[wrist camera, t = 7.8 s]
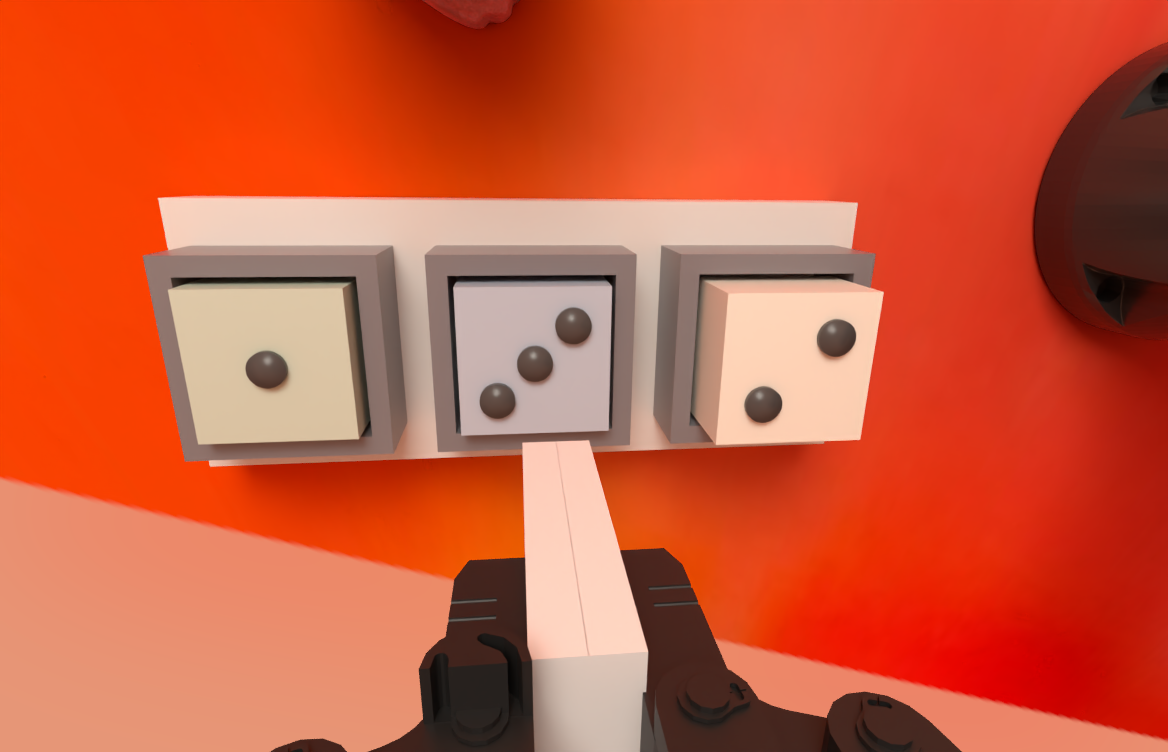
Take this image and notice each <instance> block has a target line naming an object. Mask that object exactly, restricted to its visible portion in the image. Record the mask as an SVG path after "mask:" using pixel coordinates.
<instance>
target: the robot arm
mask: <svg viewBox="0 0 1168 752" xmlns="http://www.w3.org/2000/svg"><path fill="white" fill-rule="evenodd" d="M1035 241H1036V250H1037V256H1038V260H1039V264H1040V268H1041V271H1042V274H1043V276H1044V278H1045V281H1046V283H1047V285H1048V287H1049V288H1050V290H1051V292H1052V293H1053V295H1054V296H1055V298H1056V299H1057V300H1058V301H1059V302H1060V304H1061V305H1062V306H1063V307H1064V308H1065V309H1066V310H1067V311H1069V312H1070V313H1071V314H1072V315H1074V316H1075V317H1077V318H1078V319H1080V320H1082V321H1084V322H1086V323H1087V324H1090V325H1092V326H1095V327H1098V328H1101V329H1105V330H1109V331H1113V332H1117V333H1121V334H1125V335H1129V336H1133V337H1138V338H1143V339H1153V340H1168V42H1167V43H1164V44H1162V45H1159V46H1157V47H1155V48H1153V49H1150V50H1149V51H1147V52H1145V53H1143V54H1141V55H1139V56H1138V57H1136V58H1134V59H1133V60H1131V61H1130V62H1128V63H1127V64H1125V65H1124V66H1123V67H1121V68H1120V69H1119V70H1117V71H1116V72H1115V73H1114V74H1112V75H1111V76H1110V77H1109V78H1108V79H1107V80H1106V81H1104V82H1103V83H1102V84H1101V85H1100V86H1099V87H1098V88H1097V89H1096V90H1095V91H1094V92H1093V93H1092V94H1091V96H1090V97H1089V98H1088V99H1087V100H1086V101H1085V103H1084V104H1083V105H1082V106H1081V108H1080V109H1079V110H1078V111H1077V113H1076V114H1075V115H1074V117H1073V118H1072V120H1071V121H1070V123H1069V124H1068V126H1067V127H1066V129H1065V131H1064V132H1063V134H1062V136H1061V138H1060V139H1059V141H1058V143H1057V145H1056V147H1055V149H1054V151H1053V154H1052V156H1051V158H1050V160H1049V163H1048V166H1047V168H1046V171H1045V174H1044V177H1043V180H1042V184H1041V188H1040V191H1039V196H1038V201H1037V208H1036V217H1035ZM522 446H523V491H524V536H525V558H507V559H488V560H469V561H468V563H467V564H466V565H465V566H464V568H463V569H462V570H461V572H460V573H459V574H458V575H457V577H456V578H455V579H454V586H453V593H452V600H451V606H450V612H449V623H448V625H447V632H446V637H445V638H443V639H441V640H439V641H438V642H437V644H435V645H434V646H433V647H432V648H431V649H430V650H429V651H428V652H427V653H426V655H425V657H424V659H423V661H422V664H421V666H420V668H419V675H420V688H421V699H422V710H423V720H422V721H421V722H420V723H419V724H418V725H417V726H416V727H415V728H414V729H412V730H411V731H410V732H408V733H407V734H405V735H404V736H403V737H401V738H400V739H398V740H395V741H393V742H391V743H389V744H387V745H385V746H382V747H380V748H377V749H374V750H371V751H369V752H961V751H960V750H959V749H958V748H957V747H956V746H955V745H954V744H953V743H952V742H951V741H950V740H949V739H948V738H947V737H946V736H945V735H943V734H942V733H941V732H940V731H939V730H938V729H937V728H936V727H935V726H934V725H933V724H932V723H931V722H930V721H929V720H927V719H926V718H925V717H923V716H922V715H921V714H919V713H918V712H917V711H915V710H914V709H913V708H911V707H910V706H908V705H906V704H904V703H902V702H899V701H897V700H895V699H893V698H890V697H888V696H885V695H880V694H874V693H869V692H859V693H851V694H846V695H844V696H842V697H841V698H839V699H837V700H836V701H834V702H833V704H832V706H831V709H830V711H829V713H828V715H827V718H824V717H819V716H814V715H809V714H804V713H799V712H794V711H789V710H785V709H781V708H778V707H774V706H771V705H769V704H767V703H765V702H763V701H761V700H759V699H758V697H757V696H756V694H755V693H754V692H753V690H752V689H751V688H750V686H749V685H748V683H747V682H746V681H744V680H743V679H742V678H740V677H739V676H738V675H736V674H735V673H733V672H732V671H730V670H728V669H727V667H726V665H725V662H724V660H723V658H722V655H721V653H720V651H719V648H718V646H717V644H716V642H715V639H714V637H713V635H712V632H711V630H710V628H709V625H708V623H707V621H706V618H705V616H704V614H703V611H702V609H701V607H700V605H698V600H697V598H696V595H695V593H694V591H693V588H691V584H690V581H689V579H688V577H687V574H686V572H685V570H684V567H683V565H682V564H681V563H680V562H679V561H678V560H677V559H675V558H674V557H673V556H672V555H671V554H670V553H669V552H668V551H666V550H665V549H664V548H659V549H640V550H621V551H620V549H619V546H618V542H617V539H616V535H615V531H614V528H613V524H612V521H611V517H610V514H609V510H608V507H607V503H606V499H605V496H604V492H603V489H602V485H601V482H600V478H599V474H598V471H597V467H596V464H595V460H594V457H593V453H592V450H591V446H590V442H589V440H586V441H556V442H527V443H522ZM271 752H347V751H345V749H344V748H343V747H342V746H341V745H339V744H337V743H334V742H331V741H328V740H325V739H307V740H299V741H295V742H292V743H290V744H287V745H284V746H281V747H278V748H276V749H274V750H273V751H271Z"/></svg>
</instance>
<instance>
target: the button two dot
mask: <svg viewBox="0 0 1168 752" xmlns="http://www.w3.org/2000/svg"><path fill="white" fill-rule="evenodd" d="M883 293H884V292H882V291H878V290H875V289H872V288H869V287H865V286H862V285H859V284H856V283H852V282H849V281H846V280H843V279H839V278H836V277H833V276H759V277H699V290H698V305H697V320H696V335H695V349H694V364H693V379H692V394H691V409H690V412H691V413H692V414H693V416H694V417H695V418H696V420H697V421H698V422H699V424H700V425H701V426H702V427H703V429H704V430H705V431H706V433H707V434H708V435H709V437H710V438H711V439H712V441H713V442H714V443H715V445H731V444H758V443H785V442H812V441H839V440H860V437H861V431H862V425H863V418H864V412H865V406H866V400H867V393H868V387H869V381H870V375H871V368H872V362H873V356H874V350H875V343H876V337H877V331H878V325H879V318H880V312H881V306H882V300H883Z"/></svg>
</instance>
